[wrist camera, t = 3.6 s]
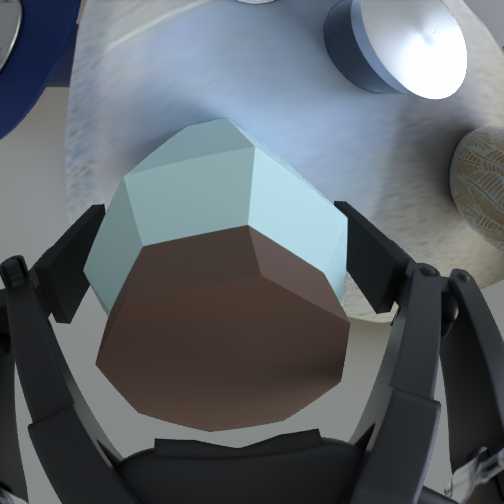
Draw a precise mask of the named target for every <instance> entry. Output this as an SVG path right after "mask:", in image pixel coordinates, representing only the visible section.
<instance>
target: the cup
mask: <svg viewBox="0 0 504 504" xmlns="http://www.w3.org/2000/svg"><path fill="white" fill-rule="evenodd" d="M238 1H241V2H245V3H254V4H259V3H267V2H271V1H274V0H238Z"/></svg>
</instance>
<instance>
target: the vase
mask: <svg viewBox="0 0 504 504" xmlns="http://www.w3.org/2000/svg"><path fill="white" fill-rule="evenodd" d="M450 190H451V195H452V198H453V200H454V202H455V204H456V206H457V208H458V210H459V212H460V214H461V216H462V217H463V219H464V220H465V222H466V223H467V224H468V225H469V226H470V227H471V228H472V229H473V230H474V231H475V232H476V233H478V234H479V235H480V236H481V237H482V238H484V239H485V240H486V241H487V242H489V243H490V244H491V245H492V246H494V247H495V248H496V249H498V250H499V251H500V252H501V253H503V254H504V127H500V126H484V127H481V128H478V129H475V130H473V131H471V132H469V133H467V134H466V135H465V136H464V137H463V138H462V139H461V141H460V142H459V144H458V146H457V147H456V150H455V152H454V155H453V158H452V162H451V167H450Z"/></svg>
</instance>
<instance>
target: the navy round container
mask: <svg viewBox="0 0 504 504" xmlns="http://www.w3.org/2000/svg"><path fill="white" fill-rule="evenodd" d="M324 39H325V44H326V47H327V50H328V53H329V55H330V57H331V59H332V61H333V62H334V64H335V65H336V67H337V68H338V69H339V70H340V72H341V73H342V74H343V75H344V76H345V77H346V78H347V79H349V80H350V81H351V82H353V83H354V84H355V85H357V86H359V87H361V88H363V89H365V90H367V91H371V92H375V93H387V94H404V95H408V96H412V97H417V98H426V99H434V100H435V99H443V98H446V97H448V96H450V95H452V94H453V93H454V92H455V91H456V90H457V89H458V88H459V87H460V85H461V83H462V81H463V79H464V76H465V72H466V66H467V54H466V47H465V42H464V38H463V35H462V32H461V30H460V27H459V25H458V23H457V21H456V19H455V18H454V16H453V14H452V13H451V11H450V10H449V8H448V7H447V6H446V5H445V3H444V2H443V1H442V0H343V1H341V2H339V3H338V4H336V5H335V6H334V7H333V8H332V9H331V10H330V12H329V13H328V15H327V17H326V20H325V24H324Z"/></svg>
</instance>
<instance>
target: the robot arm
mask: <svg viewBox="0 0 504 504" xmlns="http://www.w3.org/2000/svg"><path fill="white" fill-rule="evenodd" d="M24 20H25V8H24V4H23V2H22V0H0V75H1V74H2V72H3V71H4V69H5V68H6V66H7V64H8V63H9V61H10V59H11V57H12V55H13V53H14V51H15V49H16V47H17V44H18V42H19V39H20V36H21V33H22V30H23V25H24ZM334 206H335V207H336V208H337V209H339V210H340V211H341V212H342V213H343V214H344V215H345V216H346V217H347V218H348V219H347V258H346V270H347V271H348V273H349V274H350V275H351V277H352V278H353V280H354V281H355V283H356V284H357V285H358V287H359V288H360V290H361V291H362V293H363V294H364V296H365V297H366V299H367V300H368V302H369V303H370V305H371V306H372V308H373V309H374V311H375V312H376V314H379V313H386V312H390V311H391V309H392V306H393V304H394V301H395V302H396V303H397V304H398V306H399V307H398V309H397V312H396V314H395V316H394V319H393V321H392V323H391V326H392V330H391V334H390V337H389V341H388V344H387V348H386V351H385V354H384V357H383V360H382V363H381V366H380V369H379V372H378V375H377V378H376V381H375V383H374V386H373V389H372V391H371V394H370V397H369V399H368V402H367V404H366V407H365V409H364V412H363V414H362V416H361V419H360V421H359V423H358V426H357V428H356V430H355V432H354V434H353V435H352V437H351V438H350V440H349V442H345V441H342V440H337V439H332V438H325V437H321V436H320V432H319V429H318V428H317V429H312V430H307V431H301V432H296V433H289V434H281V435H278V436H275V437H273V438H270V439H267V440H264V441H261V442H258V443H255V444H252V445H249V446H245V447H242V448H233V447H227V446H221V445H215V444H211V443H206V442H201V441H197V440H174V439H156V438H155V444H154V448H150V449H146V450H142V451H139V452H137V453H134V454H132V455H130V456H128V457H126V458H123V457H122V456H121V455H120V453H119V452H118V451H117V450H116V449H115V448H114V446H113V445H112V443H111V442H110V441H109V439H108V437H107V436H106V434H105V433H104V431H103V430H102V428H101V426H100V425H99V423H98V422H97V420H96V418H95V417H94V415H93V413H92V412H91V410H90V408H89V406H88V404H87V403H86V401H85V399H84V397H83V395H82V393H81V391H80V390H79V388H78V386H77V384H76V382H75V380H74V378H73V375H72V374H71V371H70V369H69V367H68V365H67V363H66V360H65V358H64V356H63V353H62V351H61V349H60V346H59V344H58V341H57V339H56V336H55V334H54V331H53V328H52V326H51V323H50V321H49V319H48V317H49V315H50V314H51V312H52V314H53V316H54V318H55V320H56V322H57V323H67V324H70V323H71V321H72V319H73V317H74V315H75V313H76V311H77V309H78V307H79V305H80V302H81V301H82V299H83V297H84V295H85V293H86V291H87V290H88V288H89V286H90V283H89V281H88V279H87V277H86V275H85V273H84V271H83V269H84V267H85V264H86V261H87V258H88V256H89V253H90V250H91V248H92V245H93V243H94V240H95V238H96V235H97V233H98V231H99V228H100V226H101V223H102V221H103V219H104V217H105V214H106V213H105V206H104V204H100V205H92V206H91V207H90V208H89V209H88V210H87V211H86V212H85V213H84V214H83V215H82V216H81V217H80V218H79V219H78V220H77V221H76V222H75V223H74V224H73V225H72V226H71V227H70V228H69V229H68V230H67V231H66V232H65V233H64V235H63V236H62V237H61V238H60V239H59V240H58V241H57V242H56V243H55V244H54V245H53V246H52V247H51V248H49V249H48V250H46V252H45V253H44V254H43V255H42V257H40V258H39V260H38V262H36V263H35V264H34V265H33V267H32V268H31V269H30V270H29V271H28V269H27V266H26V263H25V260H24V257H23V256H21V255H17V256H13V257H10V258H8V259H6V260H5V261H4V262H2V263H1V265H0V275H1V278H2V281H3V283H4V285H5V289H1V290H0V504H29V502H28V494H27V486H26V481H25V475H24V470H23V465H22V461H21V455H20V448H19V442H18V434H17V425H16V412H15V391H14V371H15V370H14V369H15V362H16V366H17V370H18V375H19V379H20V383H21V386H22V389H23V393H24V397H25V400H26V403H27V406H28V409H29V412H30V414H31V418H32V422H33V423H32V424H29V425H28V432H29V435H30V438H31V441H32V443H33V446H34V448H35V451H36V453H37V455H38V458H39V460H40V462H41V464H42V467H43V468H44V471H45V473H46V475H47V477H48V479H49V481H50V483H51V485H52V487H53V488H54V490H55V492H56V494H57V495H58V497H59V499H60V501H61V503H62V504H504V341H503V339H502V337H501V334H500V332H499V329H498V327H497V325H496V323H495V320H494V318H493V316H492V314H491V312H490V309H489V307H488V305H487V303H486V301H485V299H484V297H483V295H482V293H481V291H480V289H479V287H478V286H477V284H476V282H475V280H474V278H473V277H472V276H471V275H470V274H469V273H468V272H467V271H465V270H461V269H453V270H452V272H451V274H450V277H449V278H448V277H442V276H440V273H439V271H438V270H437V269H436V268H434V267H433V266H431V265H429V264H425V263H416V262H415V261H414V260H413V259H412V258H411V257H410V256H409V255H408V254H407V253H405V251H404V250H403V249H402V248H400V247H399V246H398V245H397V244H396V243H395V242H394V241H392V240H390V239H388V238H387V237H386V236H385V235H384V234H383V233H382V232H381V231H379V230H378V229H377V228H376V227H375V226H374V225H373V224H372V223H370V222H369V221H368V220H367V219H366V218H365V217H364V216H362V215H361V214H360V213H359V212H358V211H357V210H355V209H354V208H353V207H352V206H351V205H350V204H348V203H347V202H346V201H334ZM439 355H440V360H441V366H442V372H443V379H444V386H445V394H446V403H447V414H448V428H449V450H450V463H451V469H452V475H453V477H452V479H451V482H450V483H448V484H447V486H446V487H445V490H444V493H445V496H444V495H442V494H440V493H438V492H436V491H434V490H432V489H430V488H428V487H426V486H424V485H423V483H424V480H425V477H426V474H427V470H428V467H429V463H430V460H431V456H432V452H433V448H434V444H435V439H436V435H437V430H438V424H439V419H440V414H441V404H440V402H439V401H436V400H434V392H435V386H436V378H437V370H438V360H439Z"/></svg>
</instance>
